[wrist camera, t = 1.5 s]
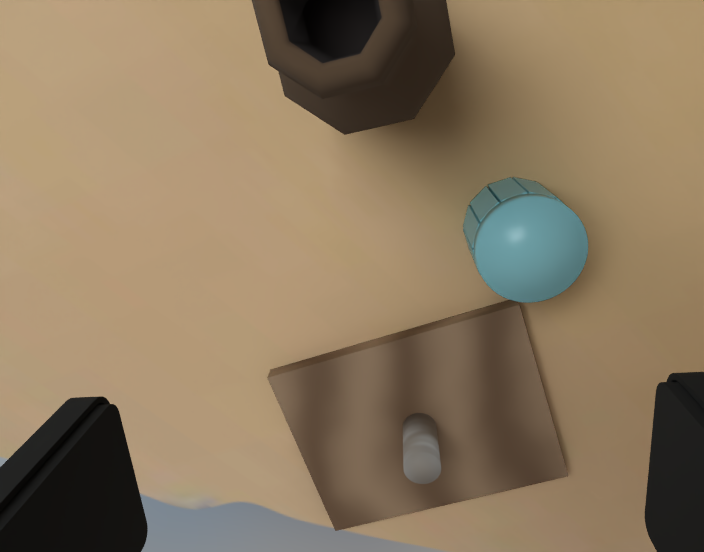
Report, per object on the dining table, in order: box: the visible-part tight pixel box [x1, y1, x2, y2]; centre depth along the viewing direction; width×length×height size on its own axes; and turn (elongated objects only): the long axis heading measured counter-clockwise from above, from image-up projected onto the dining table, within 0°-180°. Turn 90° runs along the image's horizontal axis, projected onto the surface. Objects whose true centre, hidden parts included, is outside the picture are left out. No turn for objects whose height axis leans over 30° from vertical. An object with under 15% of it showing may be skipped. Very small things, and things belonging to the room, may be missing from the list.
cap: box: [463, 177, 588, 303], centre depth 35 cm, size 6×6×6 cm
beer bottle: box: [252, 0, 455, 135], centre depth 24 cm, size 8×8×24 cm
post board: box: [268, 300, 568, 531], centre depth 40 cm, size 18×14×6 cm
